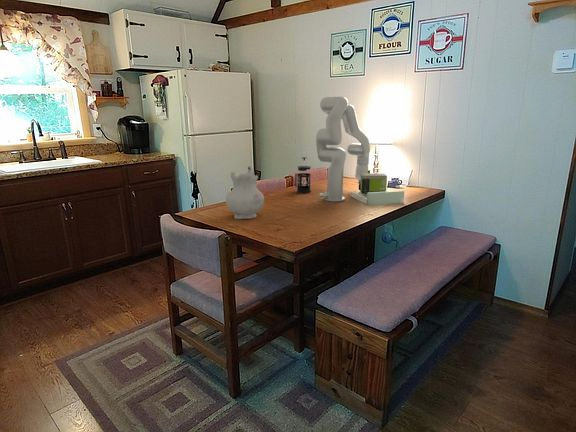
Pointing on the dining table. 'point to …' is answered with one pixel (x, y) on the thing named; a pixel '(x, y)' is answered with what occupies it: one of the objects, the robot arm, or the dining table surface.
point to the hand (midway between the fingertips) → (361, 189)
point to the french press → (303, 188)
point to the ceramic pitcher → (245, 196)
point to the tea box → (372, 183)
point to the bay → (380, 197)
